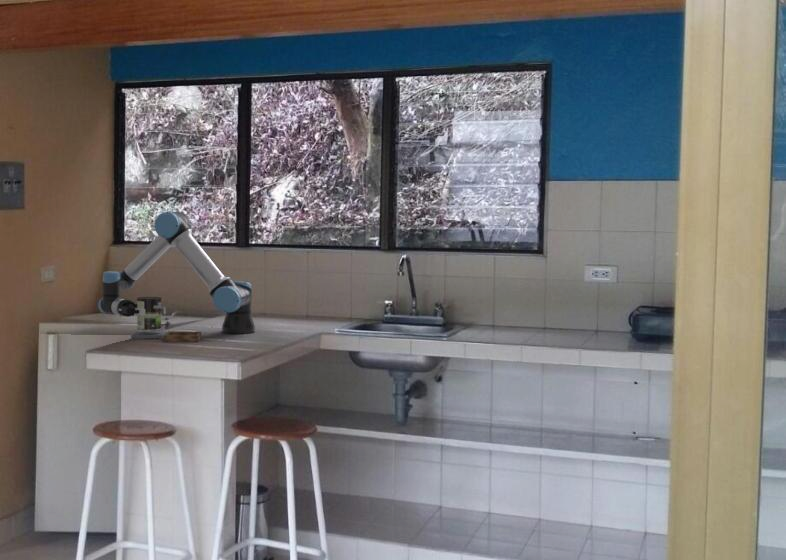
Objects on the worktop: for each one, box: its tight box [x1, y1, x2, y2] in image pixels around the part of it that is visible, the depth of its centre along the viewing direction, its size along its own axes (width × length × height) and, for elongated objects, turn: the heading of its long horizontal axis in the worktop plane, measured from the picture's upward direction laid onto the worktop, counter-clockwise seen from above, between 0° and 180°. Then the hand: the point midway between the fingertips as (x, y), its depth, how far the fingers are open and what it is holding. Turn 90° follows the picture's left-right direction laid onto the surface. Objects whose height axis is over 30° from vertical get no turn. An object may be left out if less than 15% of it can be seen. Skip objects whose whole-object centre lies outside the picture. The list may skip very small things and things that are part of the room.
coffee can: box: [136, 296, 162, 332], centre depth 398 cm, size 10×10×14 cm
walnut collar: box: [163, 331, 203, 343], centre depth 392 cm, size 14×14×2 cm
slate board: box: [130, 330, 167, 340], centre depth 399 cm, size 13×13×2 cm
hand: (155, 311), depth 395 cm, fingers closed on coffee can, 10 cm apart
